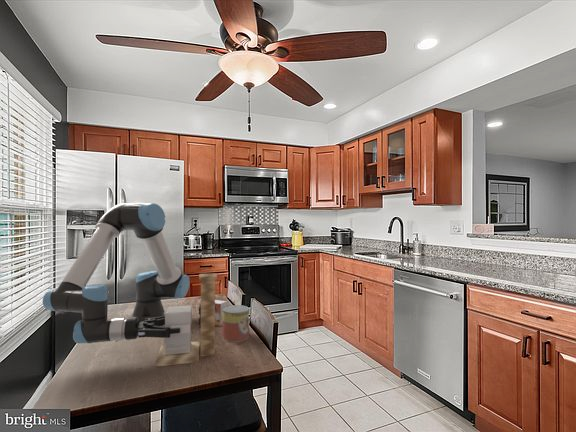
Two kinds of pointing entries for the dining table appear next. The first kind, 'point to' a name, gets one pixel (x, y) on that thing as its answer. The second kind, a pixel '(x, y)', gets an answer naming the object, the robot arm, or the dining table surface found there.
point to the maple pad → (178, 356)
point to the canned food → (235, 323)
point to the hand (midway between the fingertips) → (190, 323)
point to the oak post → (207, 313)
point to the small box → (219, 311)
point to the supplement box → (178, 341)
